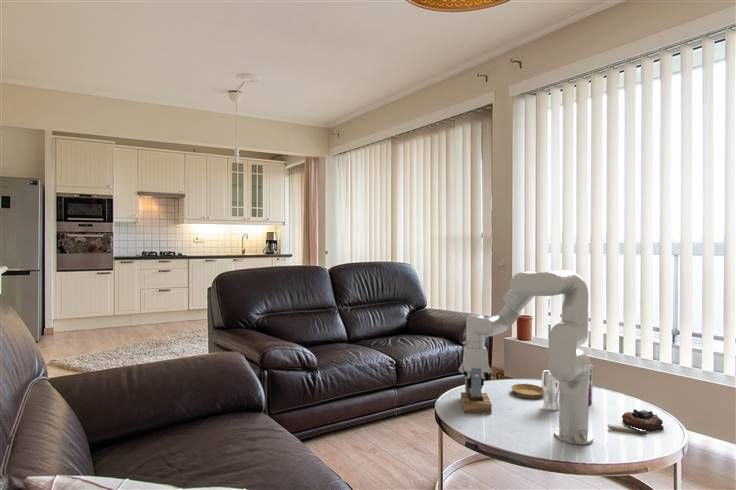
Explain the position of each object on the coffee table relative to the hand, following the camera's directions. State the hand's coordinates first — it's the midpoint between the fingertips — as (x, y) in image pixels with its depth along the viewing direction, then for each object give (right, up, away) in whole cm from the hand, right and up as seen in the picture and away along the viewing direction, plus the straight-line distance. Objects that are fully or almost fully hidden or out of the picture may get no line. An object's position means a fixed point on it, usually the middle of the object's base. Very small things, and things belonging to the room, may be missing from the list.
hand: (475, 386), depth 196 cm
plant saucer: (+28, -8, +15) cm, 33 cm away
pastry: (+59, -9, -20) cm, 63 cm away
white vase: (+31, -9, -2) cm, 32 cm away
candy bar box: (+46, -8, +6) cm, 47 cm away
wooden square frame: (0, -9, +3) cm, 9 cm away
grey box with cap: (0, -3, 0) cm, 3 cm away
